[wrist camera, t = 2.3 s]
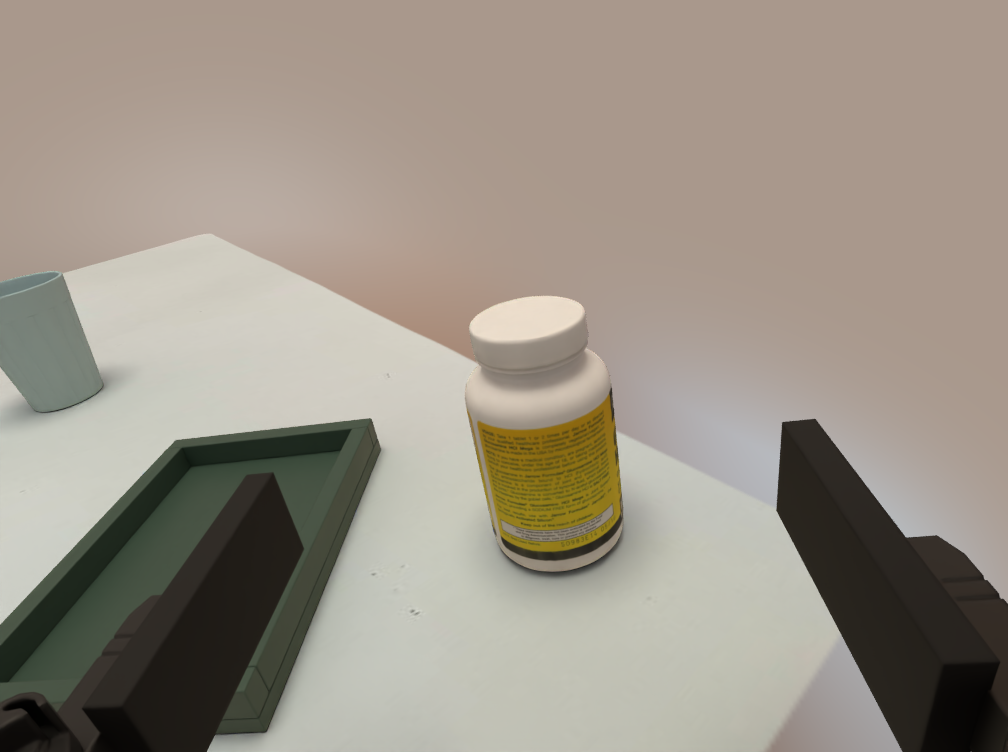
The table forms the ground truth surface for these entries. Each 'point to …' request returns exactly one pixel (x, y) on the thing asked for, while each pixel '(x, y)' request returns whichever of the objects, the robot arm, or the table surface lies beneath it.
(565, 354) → the pill bottle
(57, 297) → the cup
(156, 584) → the tray
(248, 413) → the table surface
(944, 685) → the robot arm
